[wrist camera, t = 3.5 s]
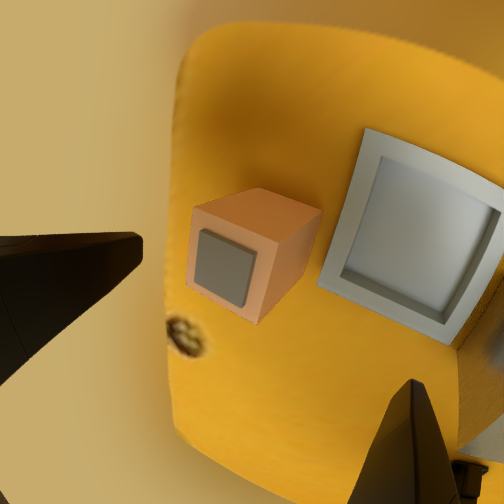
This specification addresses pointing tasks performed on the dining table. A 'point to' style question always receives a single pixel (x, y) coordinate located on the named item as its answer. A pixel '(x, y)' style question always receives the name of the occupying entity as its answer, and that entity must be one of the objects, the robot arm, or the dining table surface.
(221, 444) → the dining table surface
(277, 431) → the dining table surface
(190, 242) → the block
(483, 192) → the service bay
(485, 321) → the junction box
